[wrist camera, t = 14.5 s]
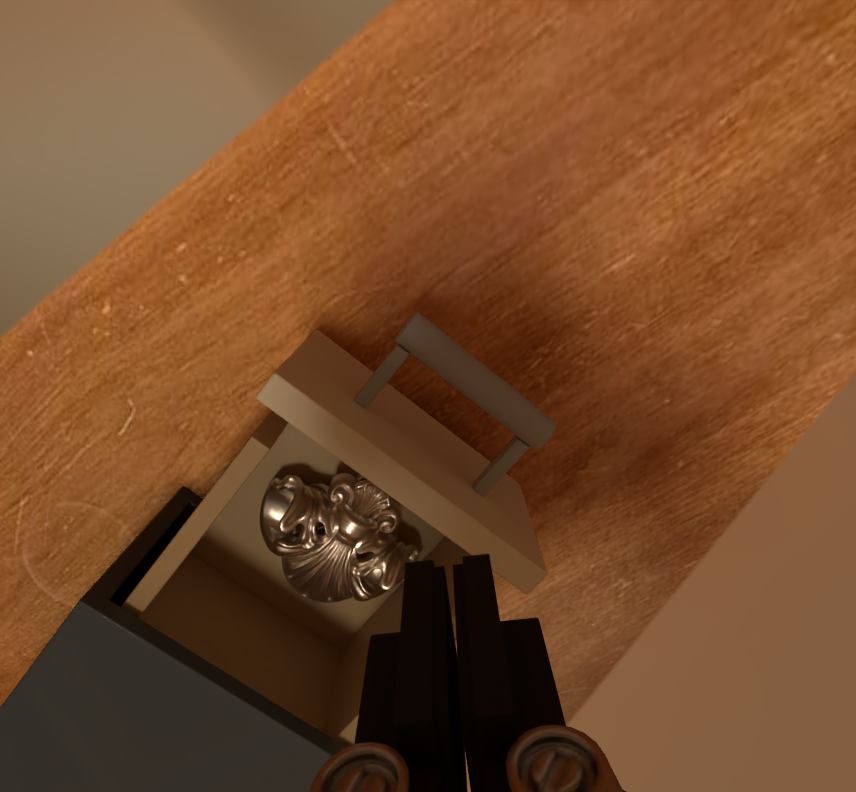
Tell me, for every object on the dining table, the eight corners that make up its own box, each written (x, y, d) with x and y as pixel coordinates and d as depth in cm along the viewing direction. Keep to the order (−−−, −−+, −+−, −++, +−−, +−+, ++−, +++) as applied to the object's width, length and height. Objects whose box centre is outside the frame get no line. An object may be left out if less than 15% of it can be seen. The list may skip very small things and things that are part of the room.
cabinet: (183, 485, 31) (79, 600, 22) (392, 627, 34) (376, 783, 25) (46, 667, 35) (-93, 832, 26) (245, 784, 37) (183, 972, 28)
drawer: (372, 255, 27) (348, 273, 20) (578, 421, 29) (628, 495, 22) (162, 532, 31) (76, 633, 24) (356, 659, 33) (334, 789, 26)
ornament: (457, 503, 29) (460, 543, 26) (381, 604, 31) (374, 655, 28) (313, 415, 28) (296, 444, 25) (242, 526, 30) (216, 568, 26)
